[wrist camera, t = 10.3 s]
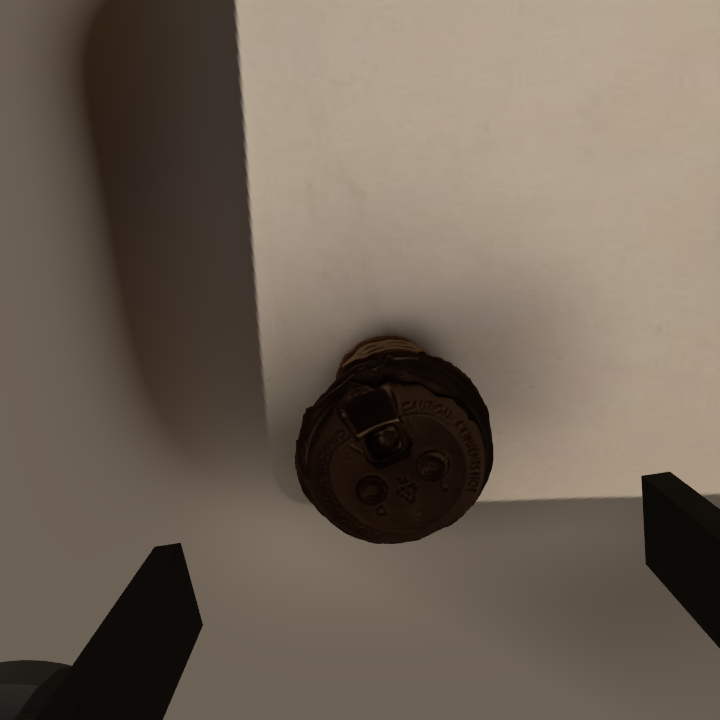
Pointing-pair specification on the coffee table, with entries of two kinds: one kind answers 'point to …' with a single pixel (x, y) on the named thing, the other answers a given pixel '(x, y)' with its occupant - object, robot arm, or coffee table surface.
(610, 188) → the coffee table surface
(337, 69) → the coffee table surface
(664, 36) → the coffee table surface
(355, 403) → the coffee cup
